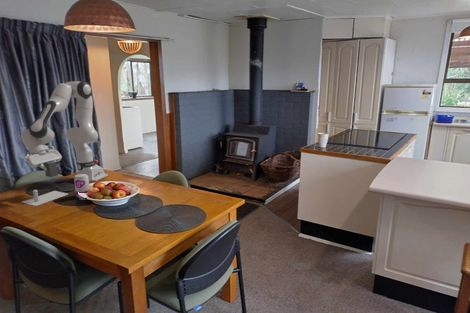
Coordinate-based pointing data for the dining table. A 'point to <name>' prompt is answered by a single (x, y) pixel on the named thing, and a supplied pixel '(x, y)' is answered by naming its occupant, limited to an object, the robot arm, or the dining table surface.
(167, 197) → the dining table surface
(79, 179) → the supplement can
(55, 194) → the post board
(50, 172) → the dark grey block
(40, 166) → the robot arm
